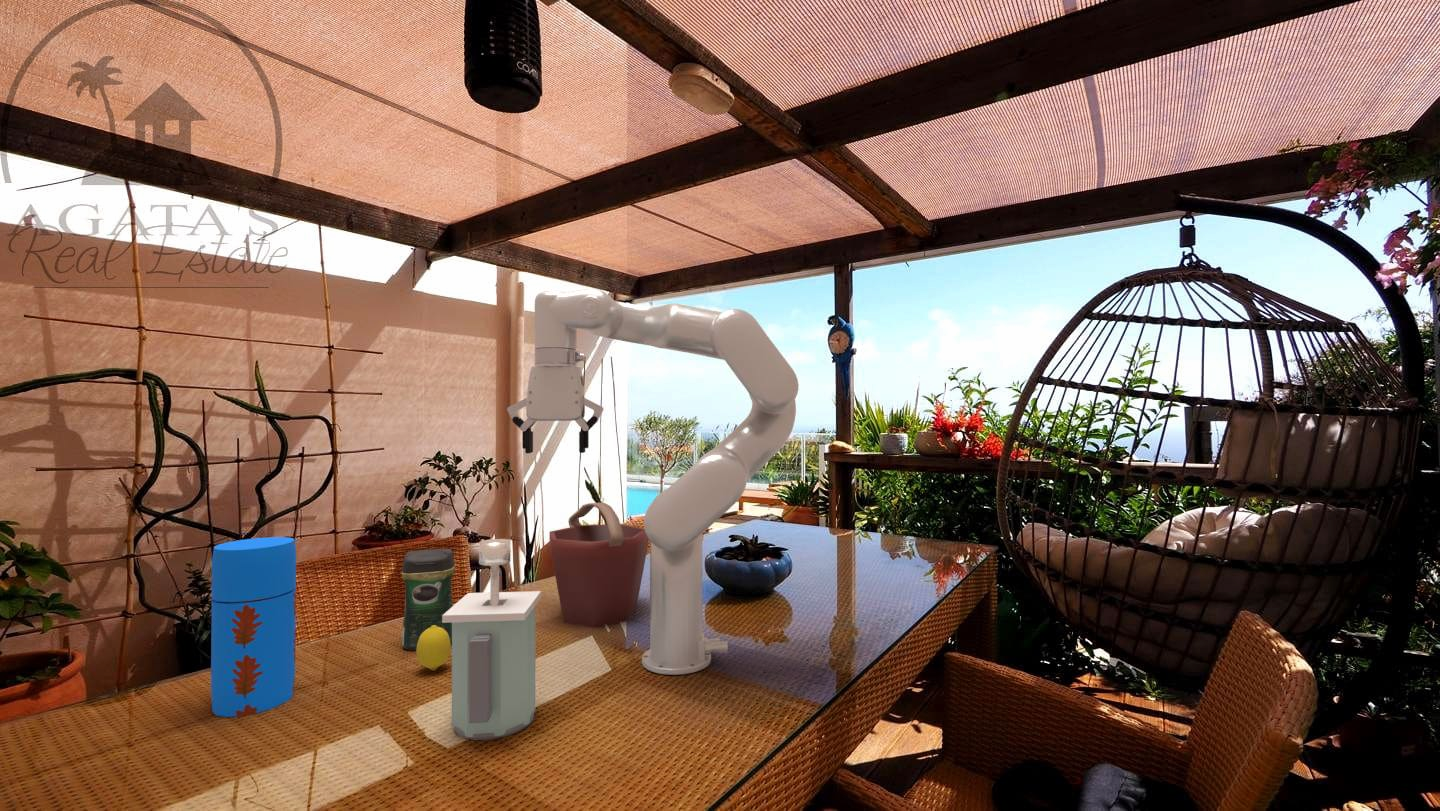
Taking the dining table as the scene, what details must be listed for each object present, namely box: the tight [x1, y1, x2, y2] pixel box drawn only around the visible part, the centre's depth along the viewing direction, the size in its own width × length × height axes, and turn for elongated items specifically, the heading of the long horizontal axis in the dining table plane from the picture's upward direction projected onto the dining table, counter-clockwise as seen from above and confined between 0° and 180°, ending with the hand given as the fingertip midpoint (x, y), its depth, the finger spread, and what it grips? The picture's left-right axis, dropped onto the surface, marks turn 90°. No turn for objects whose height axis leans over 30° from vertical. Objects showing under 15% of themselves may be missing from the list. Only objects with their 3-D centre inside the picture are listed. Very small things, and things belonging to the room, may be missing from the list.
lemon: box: [415, 625, 452, 672], centre depth 112 cm, size 6×6×8 cm
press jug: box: [442, 590, 542, 741], centre depth 93 cm, size 14×11×17 cm
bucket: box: [548, 502, 649, 628], centre depth 145 cm, size 24×22×25 cm
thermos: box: [210, 536, 297, 718], centre depth 101 cm, size 11×11×25 cm
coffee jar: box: [401, 548, 456, 650], centre depth 126 cm, size 10×8×19 cm
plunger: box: [478, 538, 511, 606], centre depth 94 cm, size 8×8×24 cm
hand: (555, 452), depth 117 cm, fingers open, 9 cm apart
